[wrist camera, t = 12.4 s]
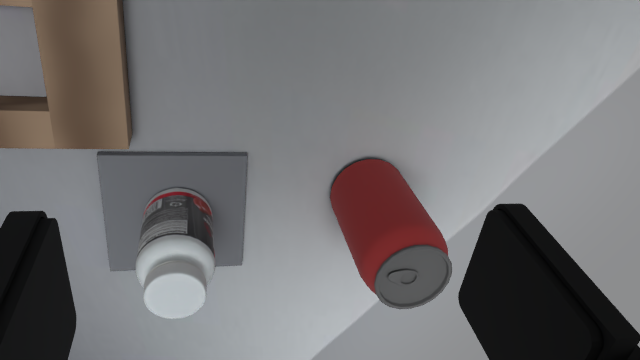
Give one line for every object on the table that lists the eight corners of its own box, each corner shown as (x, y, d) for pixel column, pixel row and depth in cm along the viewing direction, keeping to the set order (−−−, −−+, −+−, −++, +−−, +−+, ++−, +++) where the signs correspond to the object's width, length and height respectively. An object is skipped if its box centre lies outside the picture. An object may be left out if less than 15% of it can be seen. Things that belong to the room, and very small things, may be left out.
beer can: (341, 149, 42) (387, 235, 32) (411, 162, 44) (475, 246, 34) (319, 214, 45) (355, 312, 35) (385, 223, 47) (437, 318, 37)
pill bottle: (220, 229, 43) (227, 313, 35) (158, 248, 42) (149, 337, 34) (200, 177, 40) (201, 255, 32) (132, 196, 39) (116, 280, 31)
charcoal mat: (246, 152, 40) (247, 156, 40) (241, 261, 46) (241, 265, 45) (98, 151, 38) (96, 155, 37) (111, 266, 43) (110, 271, 43)
